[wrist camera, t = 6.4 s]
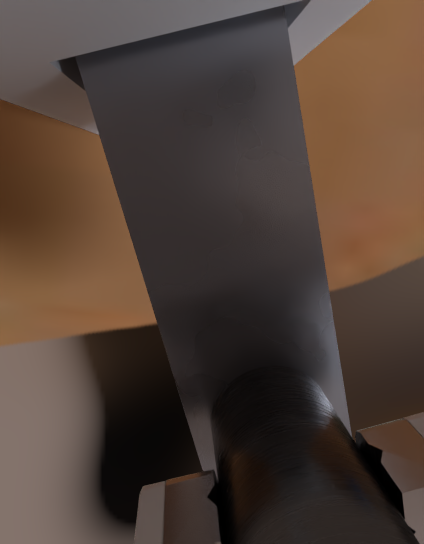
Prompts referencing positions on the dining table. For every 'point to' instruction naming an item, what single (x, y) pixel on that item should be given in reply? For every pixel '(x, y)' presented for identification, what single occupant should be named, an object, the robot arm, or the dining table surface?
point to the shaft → (239, 274)
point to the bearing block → (122, 40)
